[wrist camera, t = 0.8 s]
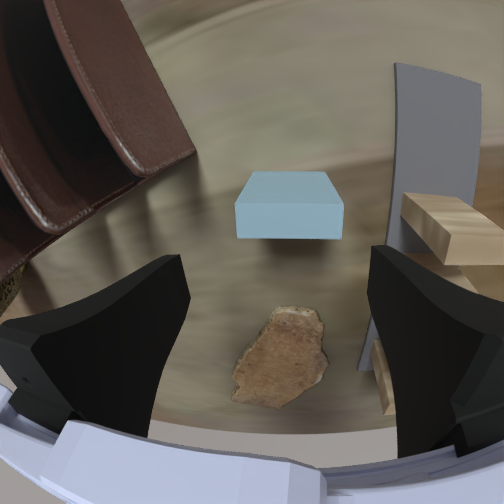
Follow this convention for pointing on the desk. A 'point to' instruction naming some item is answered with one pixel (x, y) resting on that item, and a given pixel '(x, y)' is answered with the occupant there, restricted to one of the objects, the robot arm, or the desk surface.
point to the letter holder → (74, 119)
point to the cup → (10, 289)
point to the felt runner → (429, 153)
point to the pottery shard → (281, 359)
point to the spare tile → (289, 206)
